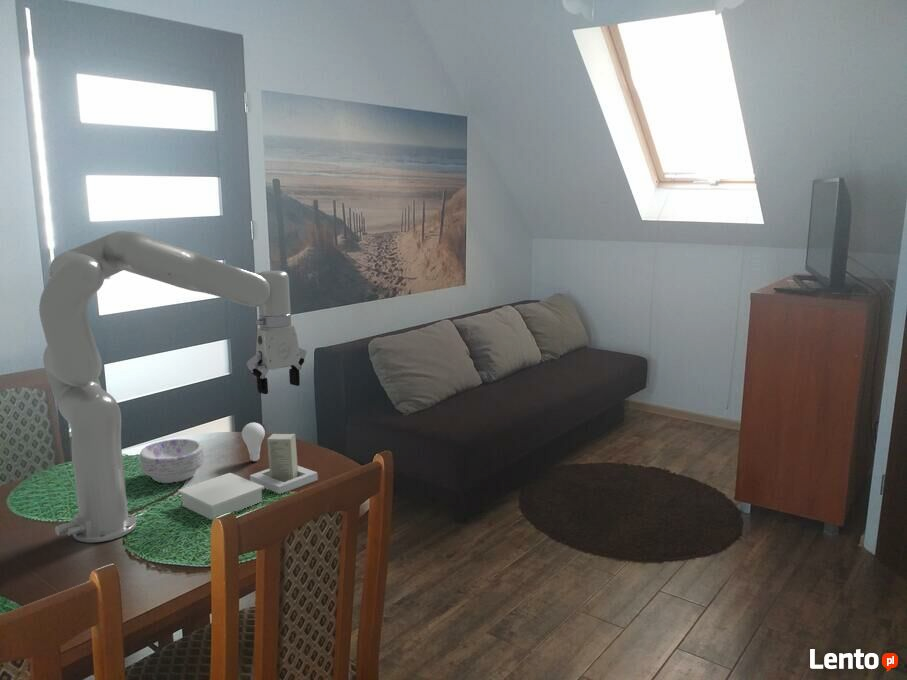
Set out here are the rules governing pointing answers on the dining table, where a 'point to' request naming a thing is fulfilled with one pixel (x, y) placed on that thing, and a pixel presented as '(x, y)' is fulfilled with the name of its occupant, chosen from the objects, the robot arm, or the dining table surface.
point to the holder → (281, 487)
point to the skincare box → (282, 457)
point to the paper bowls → (172, 460)
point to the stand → (221, 495)
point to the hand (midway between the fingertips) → (279, 388)
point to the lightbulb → (253, 439)
